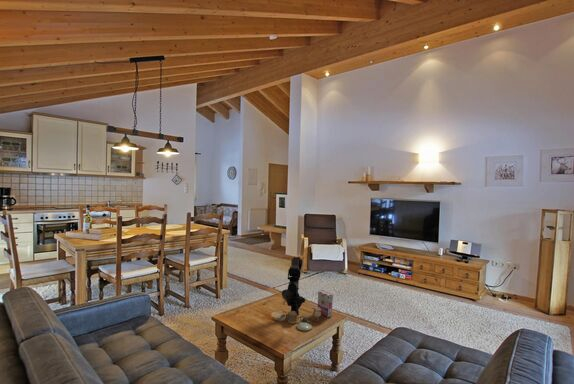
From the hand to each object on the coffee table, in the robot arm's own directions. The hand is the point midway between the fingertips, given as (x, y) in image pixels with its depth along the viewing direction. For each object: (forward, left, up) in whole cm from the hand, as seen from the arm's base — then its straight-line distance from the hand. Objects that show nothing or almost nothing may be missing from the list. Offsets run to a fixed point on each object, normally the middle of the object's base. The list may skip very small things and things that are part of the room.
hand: (292, 308), depth 203 cm
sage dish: (+1, +8, -12) cm, 15 cm away
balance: (-8, +8, -12) cm, 17 cm away
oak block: (-11, +17, -7) cm, 22 cm away
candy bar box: (-22, +22, -12) cm, 34 cm away
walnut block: (-5, 0, -11) cm, 12 cm away
